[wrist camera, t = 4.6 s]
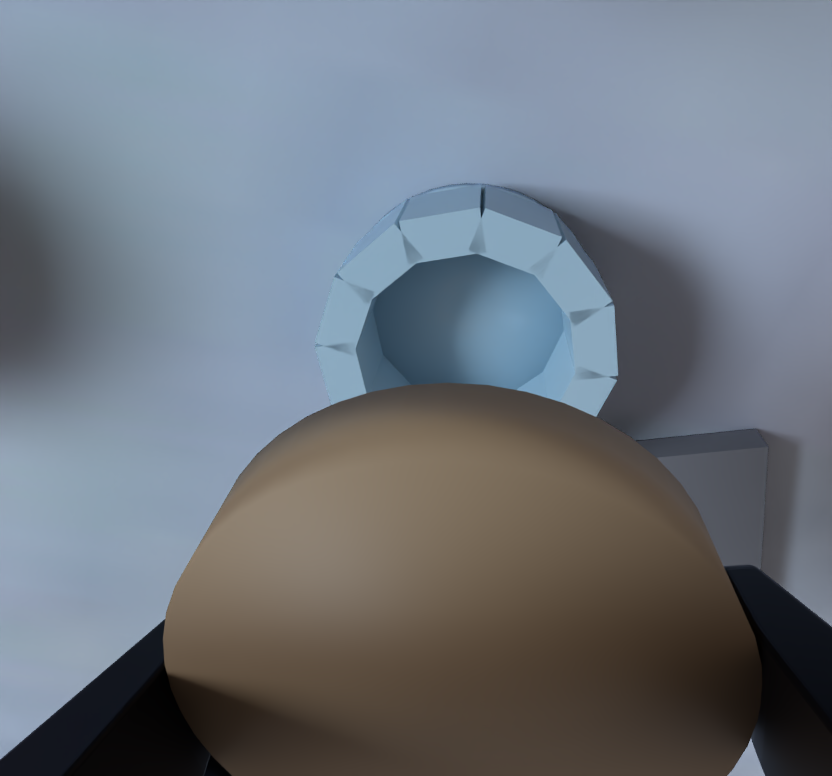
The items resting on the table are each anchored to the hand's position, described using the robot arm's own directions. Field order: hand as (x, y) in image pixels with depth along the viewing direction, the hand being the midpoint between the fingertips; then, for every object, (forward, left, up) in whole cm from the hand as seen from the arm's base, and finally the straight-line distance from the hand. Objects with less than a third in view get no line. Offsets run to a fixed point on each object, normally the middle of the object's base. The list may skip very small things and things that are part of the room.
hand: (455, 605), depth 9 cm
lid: (0, 0, 0) cm, 0 cm away
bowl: (0, 0, -11) cm, 11 cm away
